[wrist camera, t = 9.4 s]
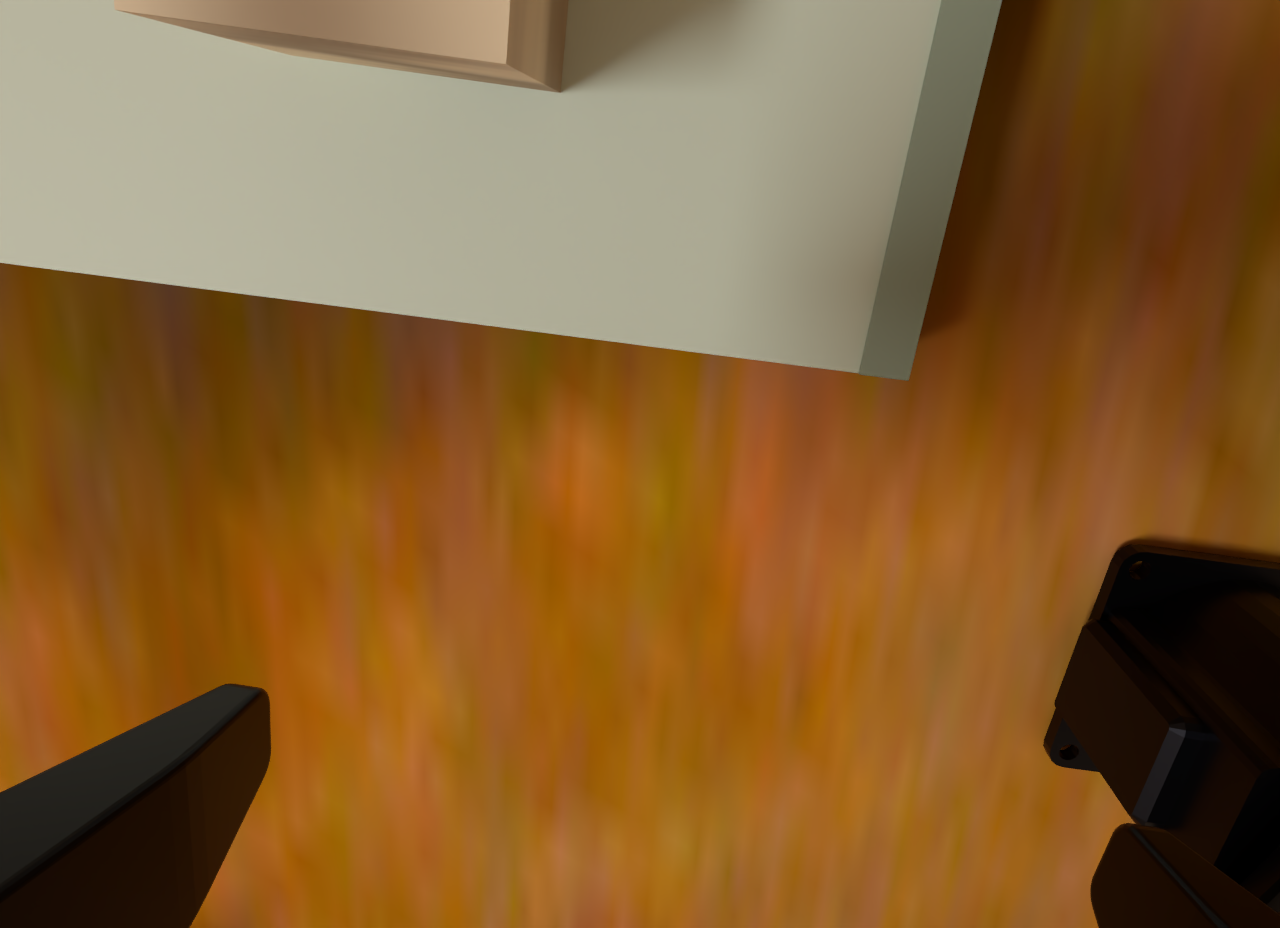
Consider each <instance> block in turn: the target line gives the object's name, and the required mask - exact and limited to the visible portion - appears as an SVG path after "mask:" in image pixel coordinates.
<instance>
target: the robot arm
mask: <svg viewBox="0 0 1280 928" xmlns="http://www.w3.org/2000/svg"><path fill="white" fill-rule="evenodd" d="M1138 561H1142V565H1141V566H1140V567H1139V569H1137V570H1135V571H1132V572H1129V569H1130V567H1131V566H1132V565H1133V564H1134V563H1136V562H1138ZM1055 707H1056V709H1055V712H1054V715H1053V717H1052V720H1051V723H1050V725H1049V728H1048V731H1047V733H1046V736H1045V739H1044V745H1043V746H1044V748H1045V751H1046V752H1047V754H1048V756H1049V757H1050V759H1051V761H1052V762H1054V763H1055V764H1056V765H1058V766H1061V767H1066V768H1073V769H1081V770H1088V771H1096V772H1100V773H1101V775H1102V776H1103V778H1104V779H1105V781H1106V782H1107V783H1108V785H1109V786H1110V788H1111V789H1112V791H1113V792H1114V794H1115V795H1116V797H1117V798H1118V800H1119V801H1120V803H1121V804H1122V806H1123V807H1124V809H1125V810H1126V811H1127V813H1128V814H1129V816H1130V817H1131V819H1132V820H1133V821H1134V822H1135V823H1136V824H1132V823H1126V824H1121V825H1120V826H1118V827H1117V828H1116V829H1115V831H1114V832H1113V834H1112V836H1111V838H1110V841H1109V843H1108V845H1107V847H1106V849H1105V852H1104V854H1103V856H1102V858H1101V860H1100V863H1099V865H1098V867H1097V869H1096V871H1095V874H1094V876H1093V879H1092V883H1091V902H1092V907H1093V910H1094V914H1095V917H1096V920H1097V923H1098V927H1099V928H1280V563H1273V562H1266V561H1258V560H1251V559H1243V558H1236V557H1228V556H1221V555H1213V554H1206V553H1198V552H1191V551H1183V550H1176V549H1168V548H1161V547H1153V546H1145V545H1129V546H1126V547H1123V548H1121V549H1120V550H1119V551H1118V552H1116V553H1115V555H1114V556H1113V558H1112V560H1111V562H1110V565H1109V568H1108V570H1107V573H1106V576H1105V578H1104V581H1103V584H1102V586H1101V589H1100V592H1099V594H1098V597H1097V600H1096V602H1095V605H1094V608H1093V610H1092V613H1091V616H1090V618H1089V621H1088V622H1087V623H1086V624H1085V625H1084V626H1083V628H1082V630H1081V633H1080V635H1079V638H1078V641H1077V643H1076V646H1075V649H1074V652H1073V654H1072V657H1071V660H1070V662H1069V665H1068V668H1067V670H1066V673H1065V676H1064V678H1063V681H1062V684H1061V686H1060V689H1059V692H1058V695H1057V697H1056V700H1055ZM1066 745H1070V747H1068V748H1066V749H1064V750H1060V749H1061V748H1062V747H1064V746H1066ZM270 755H271V732H270V701H269V696H268V694H267V692H266V691H265V690H264V689H262V688H258V687H252V686H245V685H239V684H225V685H222V686H220V687H217V688H215V689H213V690H211V691H209V692H207V693H205V694H203V695H201V696H199V697H197V698H195V699H193V700H191V701H189V702H186V703H184V704H182V705H180V706H178V707H176V708H174V709H172V710H170V711H168V712H166V713H164V714H162V715H160V716H158V717H155V718H153V719H151V720H149V721H147V722H145V723H143V724H141V725H139V726H137V727H135V728H133V729H131V730H129V731H127V732H124V733H122V734H120V735H118V736H116V737H114V738H112V739H110V740H108V741H106V742H104V743H102V744H100V745H98V746H96V747H93V748H91V749H89V750H87V751H85V752H83V753H81V754H79V755H77V756H75V757H73V758H71V759H69V760H67V761H65V762H62V763H60V764H58V765H56V766H54V767H52V768H50V769H48V770H46V771H44V772H42V773H40V774H38V775H36V776H34V777H31V778H29V779H27V780H25V781H23V782H21V783H19V784H17V785H15V786H13V787H11V788H9V789H7V790H5V791H3V792H0V928H189V927H190V926H191V924H192V922H193V920H194V919H195V917H196V915H197V913H198V911H199V909H200V908H201V906H202V904H203V902H204V900H205V898H206V896H207V894H208V892H209V890H210V888H211V886H212V884H213V882H214V880H215V878H216V875H217V873H218V871H219V869H220V867H221V865H222V863H223V861H224V859H225V857H226V855H227V853H228V851H229V849H230V847H231V844H232V842H233V840H234V838H235V836H236V834H237V832H238V830H239V828H240V826H241V824H242V822H243V820H244V818H245V816H246V814H247V811H248V809H249V807H250V805H251V803H252V801H253V799H254V797H255V795H256V793H257V791H258V789H259V787H260V785H261V783H262V780H263V778H264V776H265V774H266V771H267V768H268V765H269V761H270Z"/></svg>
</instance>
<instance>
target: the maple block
mask: <svg viewBox="0 0 1280 928" xmlns="http://www.w3.org/2000/svg"><path fill="white" fill-rule="evenodd" d="M568 1H569V0H114V8H115V10H118V11H122V12H125V13H129V14H133V15H137V16H141V17H145V18H149V19H152V20H156V21H160V22H164V23H168V24H172V25H176V26H179V27H183V28H187V29H191V30H195V31H199V32H203V33H206V34H210V35H214V36H218V37H222V38H226V39H230V40H233V41H237V42H241V43H245V44H249V45H253V46H257V47H260V48H264V49H268V50H272V51H276V52H280V53H284V54H288V55H291V56H299V57H306V58H313V59H320V60H327V61H335V62H342V63H349V64H356V65H363V66H371V67H378V68H385V69H392V70H399V71H406V72H414V73H421V74H428V75H435V76H442V77H450V78H457V79H464V80H471V81H478V82H486V83H493V84H500V85H507V86H514V87H521V88H529V89H536V90H543V91H550V92H557V93H561V82H562V71H563V59H564V48H565V36H566V25H567V13H568Z"/></svg>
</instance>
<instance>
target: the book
mask: <svg viewBox="0 0 1280 928" xmlns="http://www.w3.org/2000/svg"><path fill="white" fill-rule="evenodd" d="M1001 3H1002V0H569V1H568V13H567V25H566V36H565V48H564V59H563V71H562V82H561V93H557V92H550V91H543V90H536V89H529V88H521V87H514V86H507V85H500V84H493V83H486V82H478V81H471V80H464V79H457V78H450V77H442V76H435V75H428V74H421V73H414V72H406V71H399V70H392V69H385V68H378V67H371V66H363V65H356V64H349V63H342V62H335V61H327V60H320V59H313V58H306V57H299V56H291V55H288V54H284V53H280V52H276V51H272V50H268V49H264V48H260V47H257V46H253V45H249V44H245V43H241V42H237V41H233V40H230V39H226V38H222V37H218V36H214V35H210V34H206V33H203V32H199V31H195V30H191V29H187V28H183V27H179V26H176V25H172V24H168V23H164V22H160V21H156V20H152V19H149V18H145V17H141V16H137V15H133V14H129V13H125V12H122V11H118V10H115V8H114V0H0V263H7V264H15V265H23V266H30V267H38V268H46V269H54V270H61V271H69V272H77V273H85V274H92V275H100V276H108V277H116V278H123V279H131V280H139V281H147V282H155V283H162V284H170V285H178V286H186V287H193V288H201V289H209V290H217V291H224V292H232V293H240V294H248V295H255V296H263V297H271V298H279V299H286V300H294V301H302V302H310V303H318V304H325V305H333V306H341V307H349V308H356V309H364V310H372V311H380V312H387V313H395V314H403V315H411V316H418V317H426V318H434V319H442V320H449V321H457V322H465V323H473V324H481V325H488V326H496V327H504V328H512V329H519V330H527V331H535V332H543V333H550V334H558V335H566V336H574V337H581V338H589V339H597V340H605V341H613V342H620V343H628V344H636V345H644V346H651V347H659V348H667V349H675V350H682V351H690V352H698V353H706V354H713V355H721V356H729V357H737V358H744V359H752V360H760V361H768V362H776V363H783V364H791V365H799V366H807V367H814V368H822V369H830V370H838V371H845V372H853V373H859V374H860V375H868V376H876V377H883V378H891V379H899V380H907V381H909V377H910V373H911V368H912V364H913V360H914V356H915V352H916V348H917V344H918V340H919V336H920V332H921V328H922V324H923V320H924V316H925V312H926V307H927V303H928V299H929V295H930V291H931V287H932V283H933V279H934V275H935V271H936V267H937V263H938V259H939V255H940V251H941V246H942V242H943V238H944V234H945V230H946V226H947V222H948V218H949V214H950V210H951V206H952V202H953V198H954V194H955V190H956V185H957V181H958V177H959V173H960V169H961V165H962V161H963V157H964V153H965V149H966V145H967V141H968V137H969V133H970V129H971V124H972V120H973V116H974V112H975V108H976V104H977V100H978V96H979V92H980V88H981V84H982V80H983V76H984V72H985V68H986V64H987V59H988V55H989V51H990V47H991V43H992V39H993V35H994V31H995V27H996V23H997V19H998V15H999V11H1000V7H1001Z"/></svg>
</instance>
